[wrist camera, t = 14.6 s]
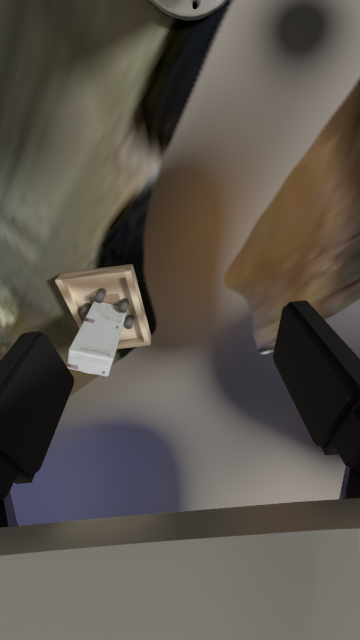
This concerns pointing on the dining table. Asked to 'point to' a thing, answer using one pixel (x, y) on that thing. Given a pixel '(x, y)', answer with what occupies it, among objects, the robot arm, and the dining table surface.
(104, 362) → the skincare box
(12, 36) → the dining table surface
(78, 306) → the pin tray
